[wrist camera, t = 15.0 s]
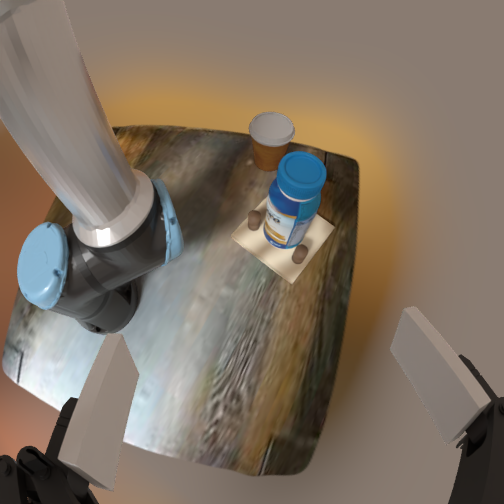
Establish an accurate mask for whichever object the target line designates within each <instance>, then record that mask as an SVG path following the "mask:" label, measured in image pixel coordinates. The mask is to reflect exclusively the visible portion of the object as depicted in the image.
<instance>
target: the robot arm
mask: <svg viewBox="0 0 504 504" xmlns="http://www.w3.org/2000/svg"><path fill="white" fill-rule="evenodd" d="M0 118H1V120H2V121H3V123H4V124H5V126H6V127H7V129H8V131H9V132H10V134H11V135H12V137H13V138H14V140H15V141H16V143H17V144H18V145H19V147H20V148H21V150H22V151H23V153H24V154H25V155H26V157H27V158H28V159H29V161H30V162H31V163H32V165H33V166H34V167H35V169H36V170H37V171H38V173H39V174H40V175H41V177H42V178H43V179H44V180H45V182H46V183H47V184H48V185H49V187H50V188H51V189H52V190H53V192H54V193H55V194H56V195H57V196H58V198H59V199H60V200H61V201H62V202H63V204H64V205H65V206H66V207H67V208H68V209H69V210H70V212H71V213H72V214H73V223H71V224H69V225H68V226H66V227H64V228H62V227H61V226H60V225H59V224H53V223H51V222H46V223H43V224H40V225H39V226H37V227H36V228H35V229H34V230H33V231H32V232H31V233H30V234H29V236H28V237H27V239H26V240H25V243H24V245H23V246H22V250H21V253H20V256H19V260H18V268H17V275H18V282H19V286H20V289H21V291H22V293H23V295H24V296H25V298H26V299H27V300H28V301H30V302H31V303H33V304H35V305H37V306H39V308H41V309H45V310H46V309H47V310H50V311H53V312H56V313H59V314H63V315H66V316H69V317H72V318H75V319H76V320H77V321H78V322H79V323H80V324H81V326H83V327H84V328H85V329H87V330H88V331H90V332H93V333H97V334H102V335H107V336H106V338H105V340H104V342H103V344H102V346H101V348H100V350H99V353H98V355H97V357H96V359H95V361H94V364H93V366H92V368H91V370H90V373H89V375H88V377H87V380H86V382H85V384H84V387H83V389H82V392H81V394H80V396H79V399H78V398H72V397H71V398H70V399H69V400H68V401H67V402H66V403H65V404H64V405H63V407H62V410H61V412H60V415H59V416H60V417H59V418H58V420H57V422H56V426H55V428H54V431H53V433H52V436H51V439H50V442H49V445H48V447H47V450H46V453H45V455H44V454H43V453H41V452H40V451H39V450H38V449H37V448H35V447H33V446H26V447H24V448H22V449H21V450H20V451H19V453H18V455H17V459H16V461H17V462H16V461H15V460H14V459H13V458H11V457H10V456H8V455H2V456H0V504H99V503H98V502H97V500H96V498H95V496H94V495H93V493H92V491H91V490H90V489H89V488H88V486H89V483H91V484H93V485H94V486H96V487H98V488H102V489H105V490H109V491H113V489H114V484H115V478H116V472H117V467H118V462H119V456H120V452H121V447H122V442H123V437H124V433H125V429H126V424H127V420H128V416H129V412H130V408H131V404H132V400H133V396H134V392H135V388H136V385H137V381H138V377H139V372H138V370H137V368H136V366H135V364H134V361H133V359H132V357H131V354H130V352H129V350H128V347H127V345H126V342H125V340H124V337H123V335H122V334H113V333H116V332H118V331H120V330H121V329H122V328H124V327H125V326H126V325H127V324H128V322H129V321H130V320H131V318H132V316H133V314H134V312H135V309H136V305H137V288H136V284H135V281H134V279H135V278H137V277H139V276H141V275H143V274H145V273H147V272H149V271H151V270H153V269H156V268H158V267H160V266H165V265H166V264H167V263H168V262H169V261H171V260H173V259H175V258H177V257H178V256H180V255H181V253H182V252H183V249H184V241H183V236H182V232H181V228H180V225H179V222H178V220H177V218H176V213H175V209H174V206H173V204H172V201H171V198H170V196H169V193H168V191H167V188H166V186H165V184H164V183H163V181H162V180H160V179H154V180H153V179H151V180H150V179H149V178H148V177H147V175H146V174H144V173H143V172H141V171H139V170H136V169H131V168H130V166H129V164H128V162H127V160H126V158H125V156H124V154H123V152H122V150H121V147H120V145H119V143H118V141H117V139H116V137H115V135H114V132H113V130H112V128H111V126H110V124H109V122H108V119H107V117H106V115H105V112H104V110H103V108H102V106H101V103H100V101H99V98H98V96H97V94H96V91H95V89H94V86H93V84H92V82H91V79H90V76H89V74H88V71H87V69H86V66H85V64H84V61H83V58H82V55H81V53H80V50H79V47H78V44H77V41H76V38H75V36H74V33H73V30H72V27H71V23H70V21H69V17H68V14H67V10H66V7H65V4H64V0H0ZM390 350H391V352H392V354H393V355H394V357H395V358H396V360H397V361H398V363H399V365H400V366H401V368H402V369H403V371H404V373H405V374H406V376H407V377H408V379H409V381H410V382H411V384H412V386H413V387H414V389H415V391H416V392H417V394H418V395H419V397H420V399H421V401H422V402H423V404H424V406H425V408H426V409H427V411H428V413H429V415H430V416H431V418H432V420H433V422H434V423H435V425H436V427H437V429H438V431H439V433H440V434H441V436H442V438H443V440H444V442H445V444H446V445H447V444H449V443H451V442H452V441H454V440H456V439H457V438H459V437H460V436H461V435H462V434H463V433H464V431H466V433H467V434H466V435H465V436H464V437H463V438H462V439H461V440H460V441H459V443H458V444H457V446H456V448H458V447H459V446H460V445H461V444H462V443H463V445H462V446H461V449H462V454H461V459H460V463H459V467H458V472H457V476H456V480H455V483H454V487H453V490H452V493H451V497H450V500H449V503H448V504H504V397H500V398H498V397H497V396H496V394H495V393H494V392H493V390H492V389H491V388H490V386H489V385H488V384H487V382H486V381H485V380H484V378H483V377H482V376H481V375H480V373H479V372H478V370H477V369H475V367H474V365H473V364H472V363H471V362H470V360H468V359H467V358H465V357H464V356H463V355H459V356H458V355H457V354H456V353H455V352H454V351H453V349H452V348H451V347H450V346H449V344H448V343H447V342H446V341H445V340H444V338H443V337H442V336H441V335H440V334H439V333H438V331H437V330H436V329H435V328H434V327H433V326H432V324H431V323H430V322H429V321H428V320H427V319H426V318H425V316H424V315H423V314H422V313H421V312H420V311H419V310H418V309H417V308H416V307H415V306H414V307H409V308H404V309H403V312H402V316H401V319H400V322H399V325H398V328H397V331H396V334H395V337H394V340H393V342H392V345H391V348H390ZM27 497H28V498H27Z"/></svg>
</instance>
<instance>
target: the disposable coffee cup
mask: <svg viewBox="0 0 504 504" xmlns="http://www.w3.org/2000/svg"><path fill="white" fill-rule="evenodd" d="M249 132H250V134H251V136H252V143H253V151H254V159H255V164H256V165H257V167H258V168H260V169H261V170H264V171H274V170H276V169H278V166H279V163H280V161H281V159H282V158H283V157H284V156H285V153H286V151H287V148H288V146H289V143H290V141H291V140H292V139H293V137H294V135H295V129H294V126H293V123H292V121H291V120H290V119H289V118H288V117H286V116H285V115H283V114H280V113H276V112H264V113H261V114H258V115H257V116H255V117H254V118H253V120H252V122H251V123H250V125H249Z"/></svg>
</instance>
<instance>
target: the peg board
mask: <svg viewBox="0 0 504 504" xmlns="http://www.w3.org/2000/svg"><path fill="white" fill-rule="evenodd" d="M267 197H268V196H267ZM267 197H266V198H265V199H264V200H263V201H262V203H261V204H260V205H259V206H258V207H257V208H256V209H255V210H252V211H250V212H249V214H248V217H247V218H246V219H245V220H244V221H243V222H242V224H241V225H240V226H239V227H238V228H237V229H236V230H235V231H234V232H233V233H232V234H231V238H232V239H233V240H235V241H236V242H237V243H239V244H240V245H241V246H242V247H244V248H245V249H246V250H248V251H249V252H250V253H252V254H253V255H254V256H255V257H257V258H258V259H259V260H261V261H262V262H263V263H264V264H266V265H267V266H268V267H270V268H271V269H272V270H274V271H275V272H276V273H277V274H279V275H280V276H281V277H283V278H284V279H285V280H287V281H288V282H289V283H290V284H292V283H293V282H294V281H295V280H296V278H297V277H298V276H299V274H300V273H301V272H302V271H303V269H304V268H305V267H306V265H307V264H308V263H309V261H310V260H311V259H312V257H313V256H314V255H315V253H316V252H317V251H318V249H319V248H320V247H321V245H322V244H323V243H324V241H325V240H326V239H327V237H328V236H329V235H330V233H331V232H332V230H333V229H334V226H333V225H331V224H330V223H329V222H327V221H326V220H325V219H323V218H322V217H320V216H319V215H318V214H316V216H315V218H314V219H313V221H312V222H311V224H310V226H309V227H308V229H307V231H306V233H305V235H304V238H303V240H302V241H301V243H300V244H299V245H298V246H296V247H294V248H292V249H286V250H284V249H279V248H276V247H274V246H272V245H271V244H270V243H269V242H268V241H267V240H266V238H265V236H264V232H263V227H264V222H265V218H266V212H267V205H266V202H267Z"/></svg>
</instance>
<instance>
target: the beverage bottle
mask: <svg viewBox="0 0 504 504" xmlns="http://www.w3.org/2000/svg"><path fill="white" fill-rule="evenodd" d="M325 180H326V168H325V166H324V164H323V163H322V161H321V160H320V159H319V158H317V157H316V156H314V155H313V154H310V153H307V152H303V151H295V152H291V153H288V154H287V155H285V156H284V157H283V158H282V159H281V161H280V163H279V166H278V171H277V178H276V179H275V180H274V181H273V182H272V184H271V186H270V189H269V194H268V197H267V202H266V205H267V212H266V218H265V222H264V227H263V232H264V236H265V238H266V240H267V241H268V242H269V243H270V244H271V245H272V246H274V247H276V248H279V249H284V250H286V249H292V248H294V247H296V246H298V245H299V244H300V243H301V241H302V240H303V238H304V235H305V233H306V231H307V229H308V227H309V226H310V224H311V222H312V221H313V219H314V218H315V216H316V213H317V210H318V208H319V206H320V202H321V193H320V191H321V189H322V187H323V185H324V183H325Z"/></svg>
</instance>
